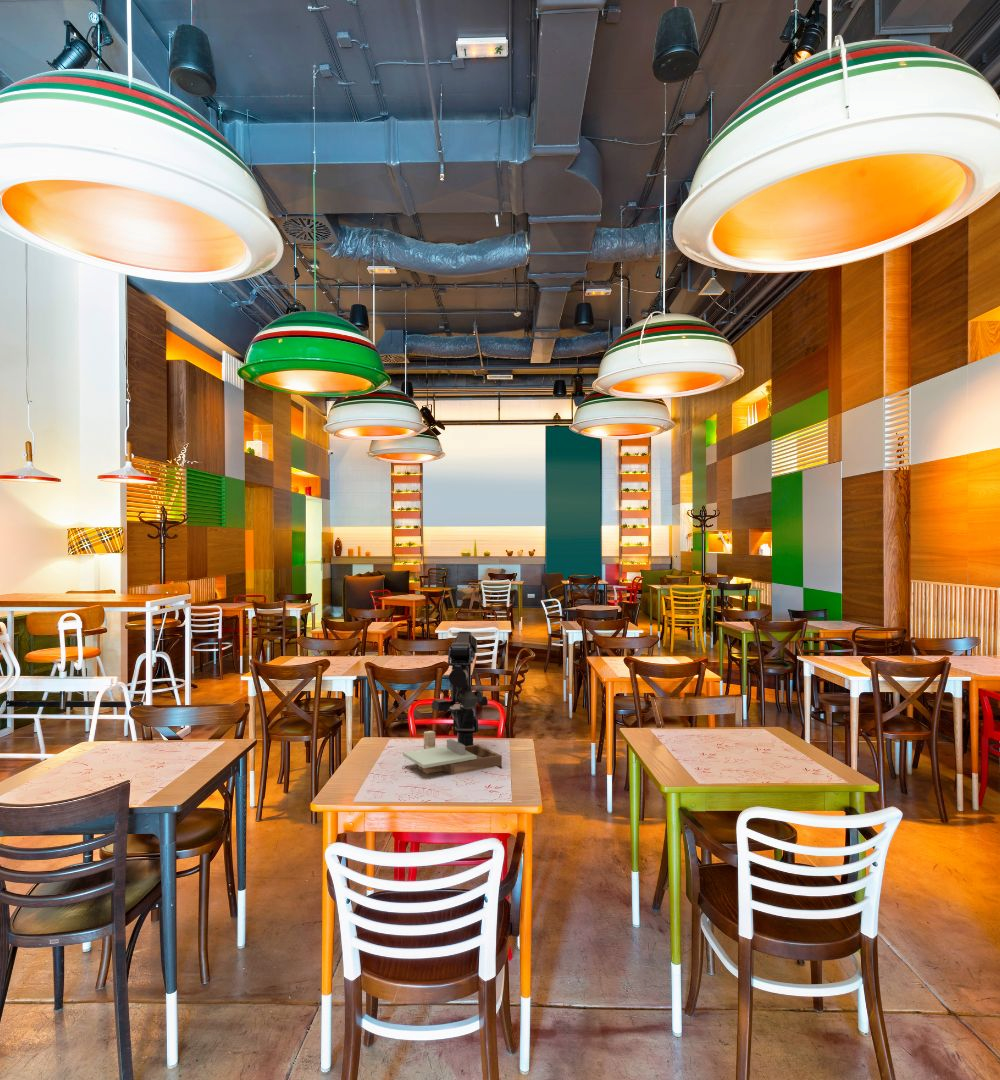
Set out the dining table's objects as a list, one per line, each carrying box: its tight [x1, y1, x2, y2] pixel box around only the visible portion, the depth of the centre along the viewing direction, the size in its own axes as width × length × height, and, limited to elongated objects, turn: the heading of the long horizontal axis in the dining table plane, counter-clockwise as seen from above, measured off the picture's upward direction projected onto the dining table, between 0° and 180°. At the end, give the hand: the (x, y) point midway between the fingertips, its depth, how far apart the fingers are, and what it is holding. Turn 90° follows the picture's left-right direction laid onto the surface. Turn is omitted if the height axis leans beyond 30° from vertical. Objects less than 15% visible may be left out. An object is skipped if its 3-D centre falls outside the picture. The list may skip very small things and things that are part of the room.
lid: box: [402, 738, 477, 768], centre depth 216 cm, size 16×19×4 cm
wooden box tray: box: [417, 744, 503, 776], centre depth 220 cm, size 16×25×4 cm, turn 122°
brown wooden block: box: [423, 730, 436, 749], centre depth 231 cm, size 3×3×9 cm
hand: (460, 728), depth 221 cm, fingers closed
